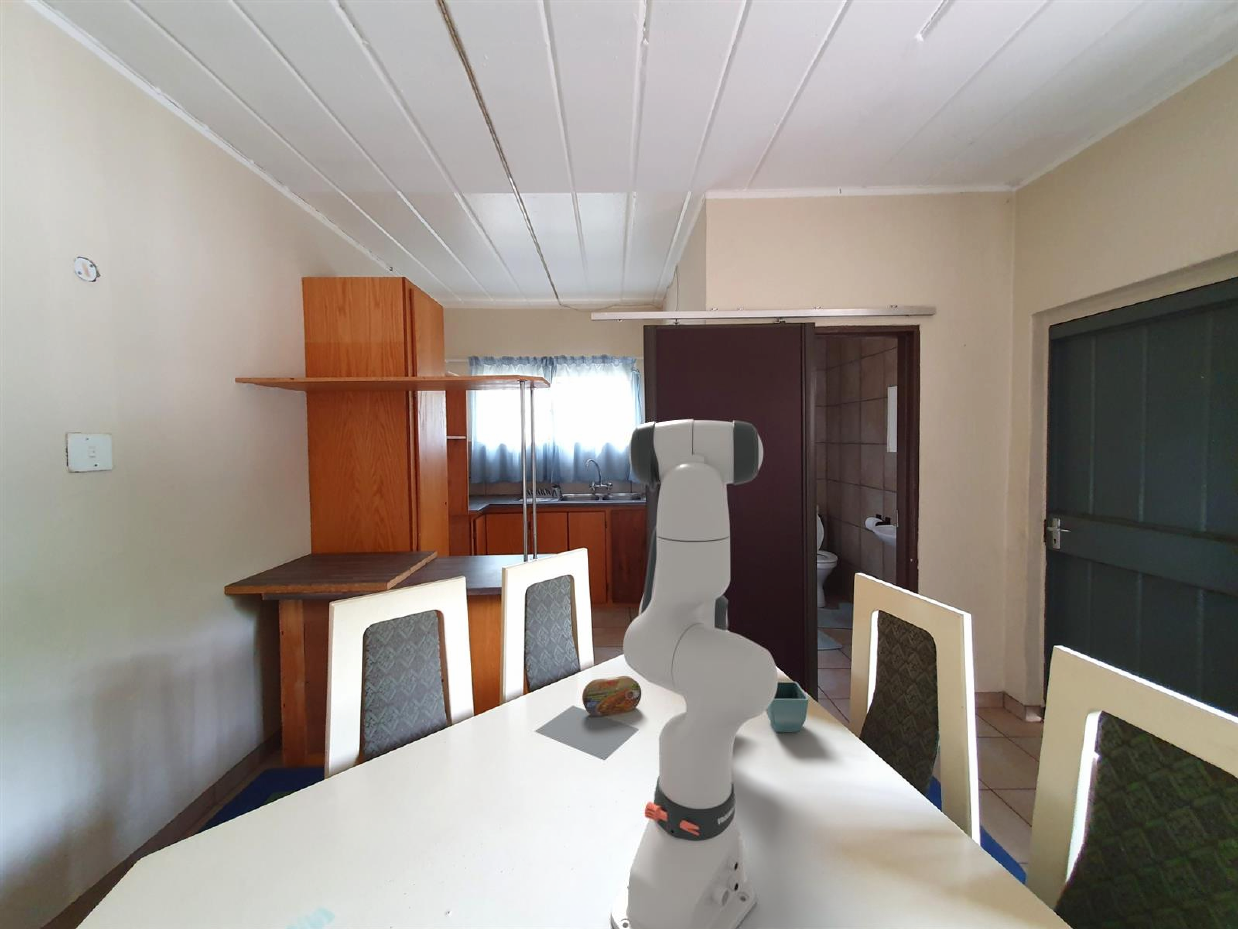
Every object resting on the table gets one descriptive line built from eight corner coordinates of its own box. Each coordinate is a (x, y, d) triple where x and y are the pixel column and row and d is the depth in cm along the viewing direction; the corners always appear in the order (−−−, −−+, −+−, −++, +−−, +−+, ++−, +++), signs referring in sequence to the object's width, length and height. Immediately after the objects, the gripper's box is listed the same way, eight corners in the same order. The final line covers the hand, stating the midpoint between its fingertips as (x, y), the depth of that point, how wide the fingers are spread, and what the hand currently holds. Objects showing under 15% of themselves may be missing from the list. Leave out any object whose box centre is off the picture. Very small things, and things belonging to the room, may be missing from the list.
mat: (604, 762, 105) (604, 760, 105) (534, 732, 116) (534, 731, 116) (639, 730, 117) (639, 729, 117) (572, 707, 128) (572, 705, 128)
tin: (583, 719, 121) (584, 684, 121) (580, 713, 124) (581, 679, 124) (641, 711, 126) (642, 677, 126) (637, 705, 129) (638, 672, 129)
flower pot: (809, 738, 113) (809, 699, 113) (770, 737, 114) (770, 699, 113) (796, 717, 122) (796, 681, 122) (760, 717, 122) (760, 681, 122)
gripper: (655, 632, 116) (656, 690, 116) (740, 651, 105) (741, 715, 105) (668, 624, 121) (669, 679, 122) (750, 640, 110) (751, 702, 110)
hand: (703, 696), depth 113 cm, fingers closed on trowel, 3 cm apart
